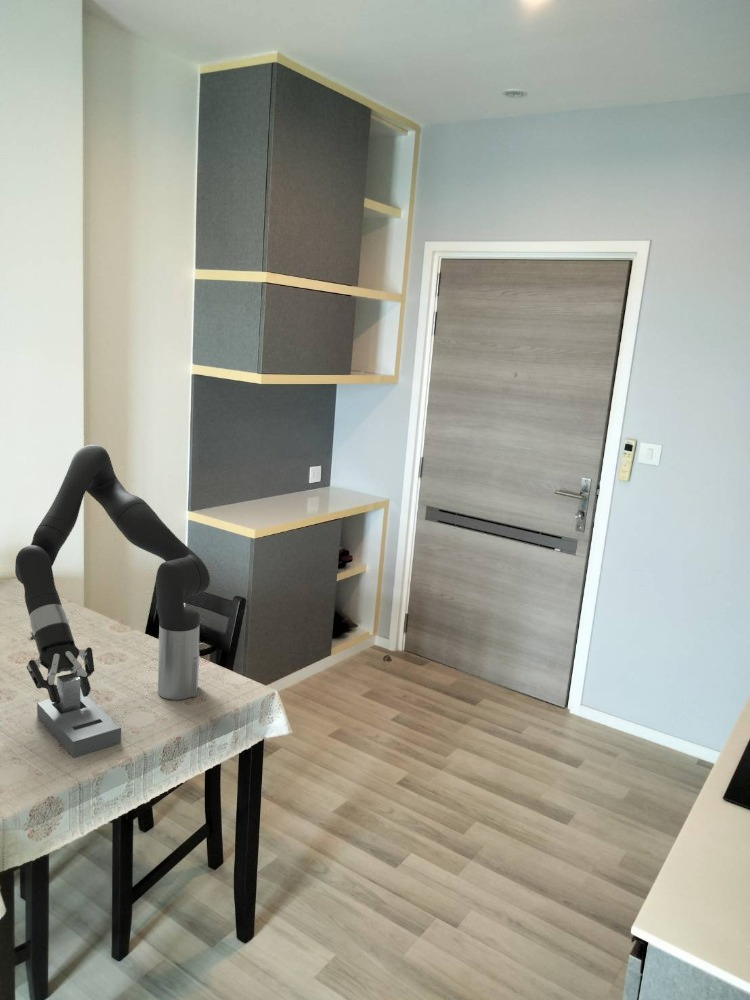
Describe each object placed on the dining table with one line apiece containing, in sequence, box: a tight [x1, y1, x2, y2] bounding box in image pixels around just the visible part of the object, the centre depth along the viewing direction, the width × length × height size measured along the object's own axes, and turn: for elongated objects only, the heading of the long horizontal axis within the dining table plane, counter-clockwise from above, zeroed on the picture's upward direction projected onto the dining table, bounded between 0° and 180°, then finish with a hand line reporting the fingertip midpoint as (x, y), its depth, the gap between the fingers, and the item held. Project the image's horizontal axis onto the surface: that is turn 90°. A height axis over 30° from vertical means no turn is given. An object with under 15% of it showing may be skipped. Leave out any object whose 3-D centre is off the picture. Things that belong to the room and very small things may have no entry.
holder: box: [36, 690, 122, 758], centre depth 162 cm, size 20×10×4 cm, turn 43°
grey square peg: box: [56, 672, 81, 714], centre depth 165 cm, size 4×4×10 cm
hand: (72, 698), depth 163 cm, fingers open, 5 cm apart
